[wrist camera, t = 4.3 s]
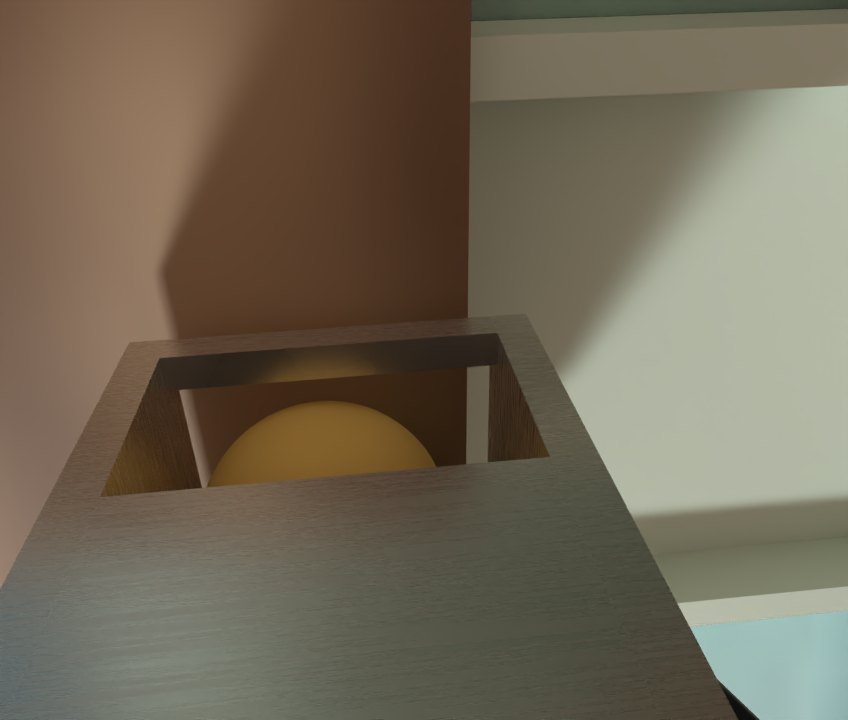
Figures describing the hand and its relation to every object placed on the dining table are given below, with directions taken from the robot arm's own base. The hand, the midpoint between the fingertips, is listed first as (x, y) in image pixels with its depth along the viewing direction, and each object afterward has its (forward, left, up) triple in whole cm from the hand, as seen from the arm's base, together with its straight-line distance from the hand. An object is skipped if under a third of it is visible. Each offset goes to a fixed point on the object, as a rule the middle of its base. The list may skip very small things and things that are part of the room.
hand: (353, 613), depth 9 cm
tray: (-7, 0, -6) cm, 9 cm away
